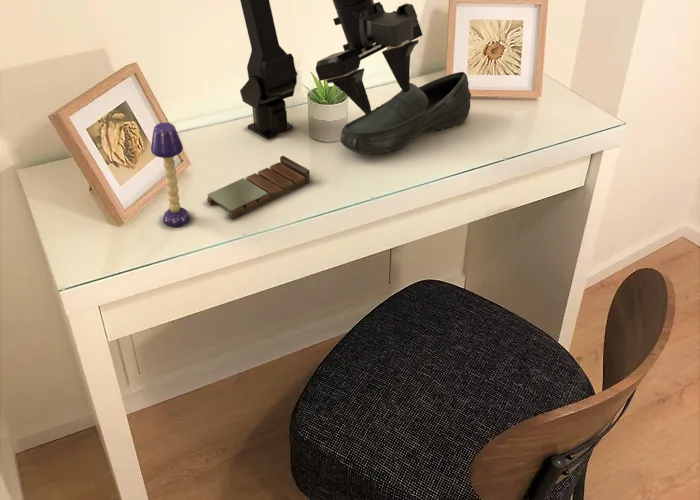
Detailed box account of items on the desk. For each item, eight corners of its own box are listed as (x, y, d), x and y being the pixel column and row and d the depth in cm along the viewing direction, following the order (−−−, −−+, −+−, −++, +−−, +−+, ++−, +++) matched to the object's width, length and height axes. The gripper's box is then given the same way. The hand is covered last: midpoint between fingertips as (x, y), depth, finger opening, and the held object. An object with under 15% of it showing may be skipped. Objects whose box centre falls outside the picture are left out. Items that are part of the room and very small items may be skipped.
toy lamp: (193, 210, 123) (179, 117, 113) (194, 226, 119) (179, 132, 109) (163, 213, 122) (146, 120, 112) (163, 230, 118) (145, 135, 108)
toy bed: (232, 220, 121) (231, 207, 119) (207, 202, 125) (205, 190, 123) (310, 182, 130) (309, 170, 128) (284, 167, 134) (283, 155, 132)
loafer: (329, 150, 138) (327, 99, 132) (438, 103, 154) (441, 55, 148) (367, 172, 132) (367, 119, 126) (477, 120, 147) (482, 71, 141)
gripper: (347, 11, 101) (385, 120, 107) (432, -27, 112) (463, 74, 117) (297, 27, 110) (334, 127, 115) (380, -10, 120) (411, 84, 126)
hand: (388, 102), depth 118 cm, fingers open, 9 cm apart
